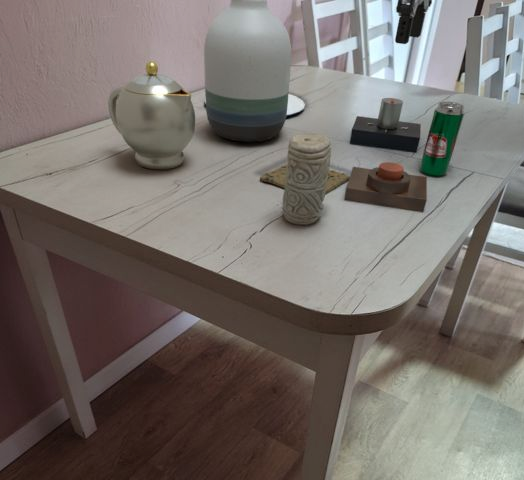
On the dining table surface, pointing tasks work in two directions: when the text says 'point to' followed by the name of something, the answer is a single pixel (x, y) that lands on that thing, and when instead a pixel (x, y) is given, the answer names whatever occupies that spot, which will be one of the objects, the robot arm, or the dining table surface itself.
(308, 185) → the carving
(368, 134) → the dial panel
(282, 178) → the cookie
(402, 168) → the release button
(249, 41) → the vase
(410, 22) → the robot arm
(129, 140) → the teapot
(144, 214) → the dining table surface
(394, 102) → the dial
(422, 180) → the button console
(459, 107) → the soda can
